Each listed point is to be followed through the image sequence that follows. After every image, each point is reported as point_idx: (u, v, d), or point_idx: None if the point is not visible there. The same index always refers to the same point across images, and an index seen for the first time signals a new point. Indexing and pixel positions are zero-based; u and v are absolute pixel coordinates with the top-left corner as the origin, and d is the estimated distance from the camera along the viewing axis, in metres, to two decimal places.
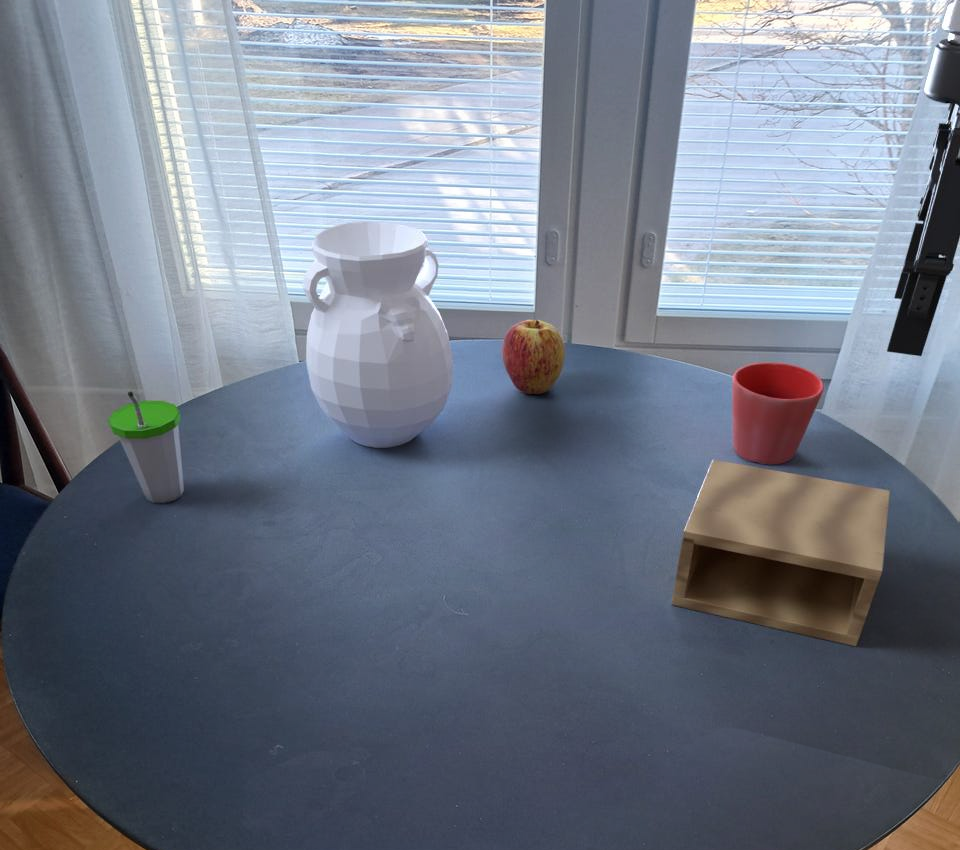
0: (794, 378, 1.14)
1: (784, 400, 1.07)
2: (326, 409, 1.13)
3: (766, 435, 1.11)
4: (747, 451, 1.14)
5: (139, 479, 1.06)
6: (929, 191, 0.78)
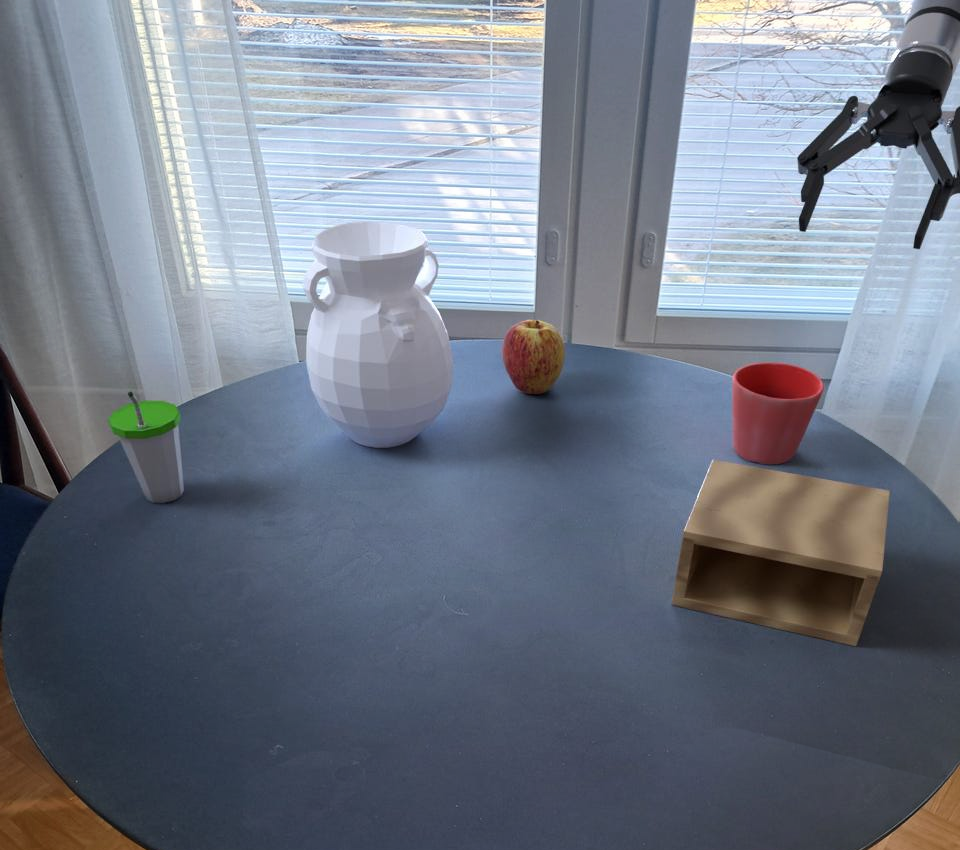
0: (794, 378, 1.14)
1: (784, 400, 1.07)
2: (326, 409, 1.13)
3: (766, 435, 1.11)
4: (747, 451, 1.14)
5: (139, 479, 1.06)
6: (928, 169, 1.08)
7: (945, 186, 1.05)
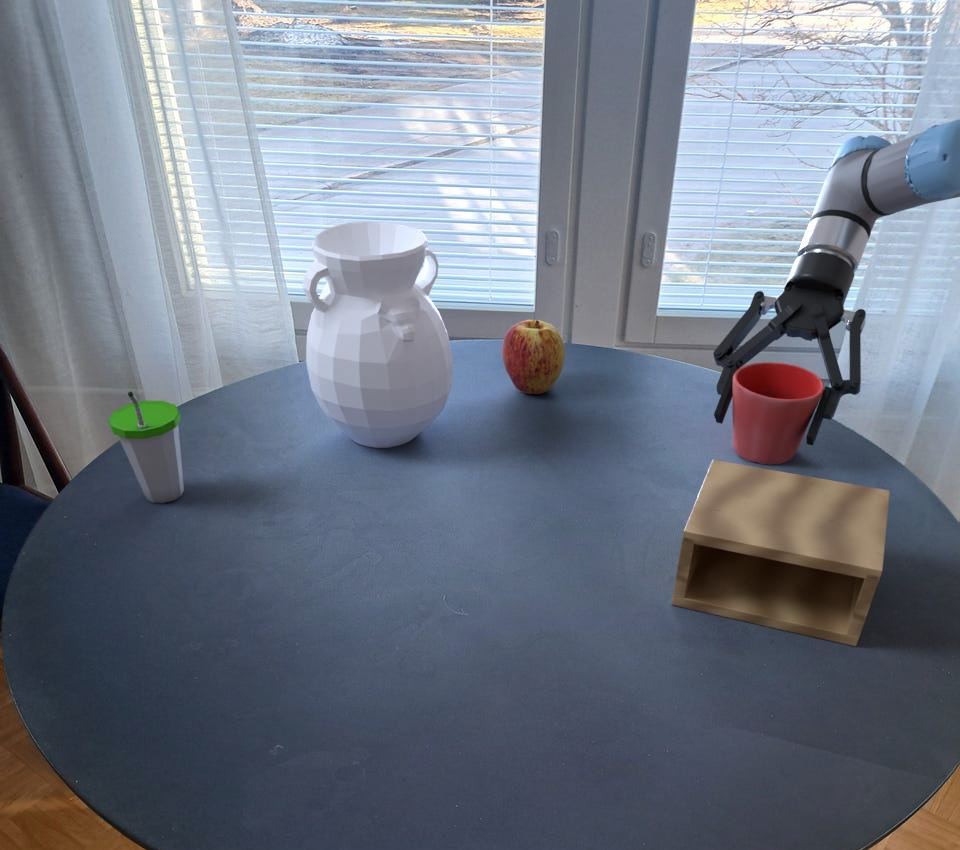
0: (794, 378, 1.14)
1: (784, 400, 1.06)
2: (326, 409, 1.13)
3: (766, 435, 1.11)
4: (747, 451, 1.14)
5: (139, 479, 1.06)
6: (825, 365, 1.12)
7: (834, 388, 1.09)
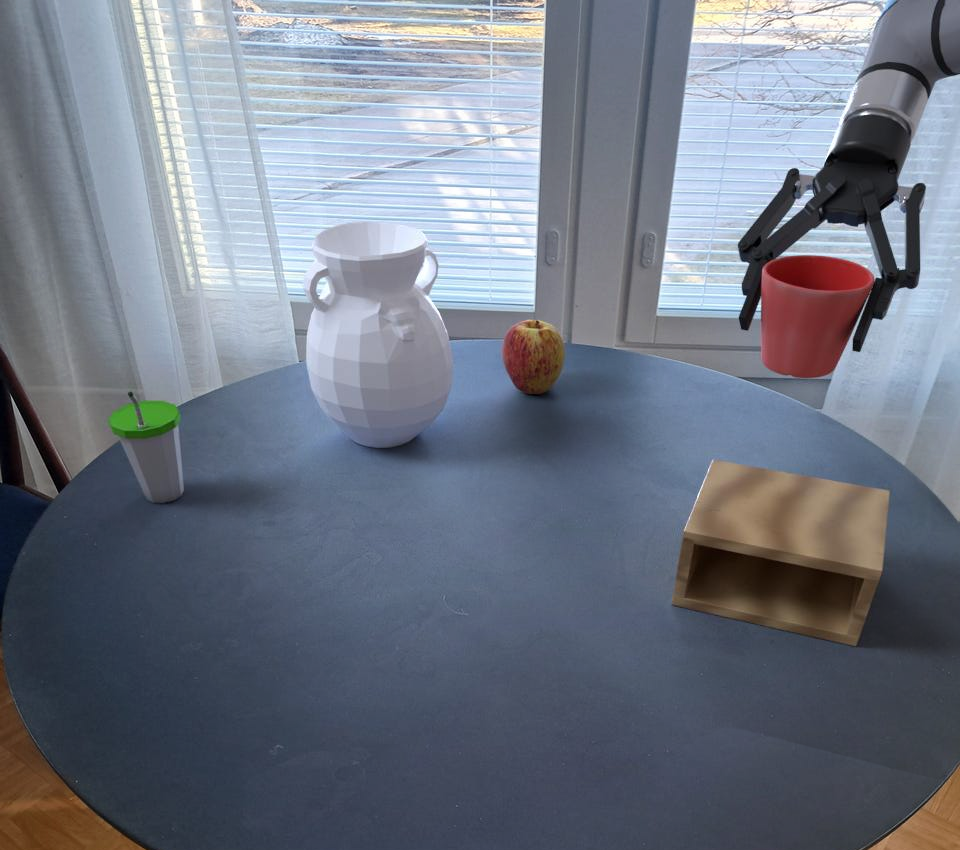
0: (836, 274, 0.94)
1: (827, 292, 0.87)
2: (326, 409, 1.13)
3: (803, 339, 0.91)
4: (779, 362, 0.94)
5: (139, 479, 1.06)
6: (874, 255, 0.92)
7: (887, 280, 0.89)
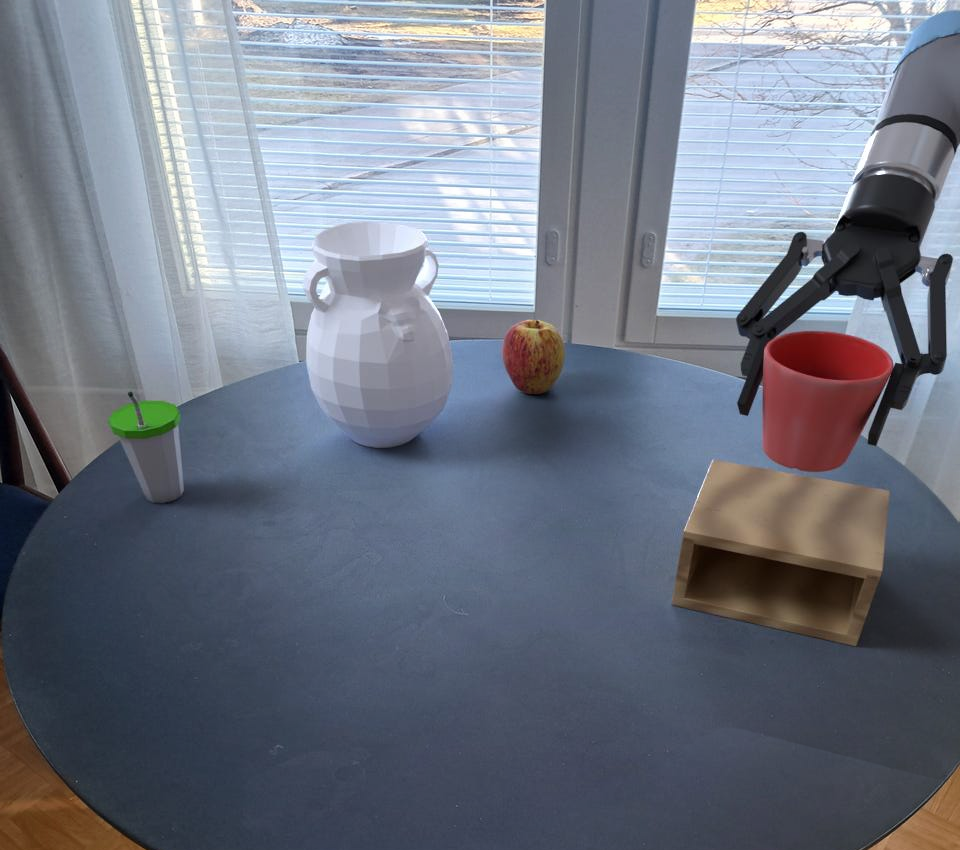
0: (848, 353, 0.82)
1: (839, 382, 0.75)
2: (326, 409, 1.13)
3: (811, 432, 0.79)
4: (783, 454, 0.82)
5: (139, 479, 1.06)
6: (893, 334, 0.80)
7: (909, 365, 0.77)
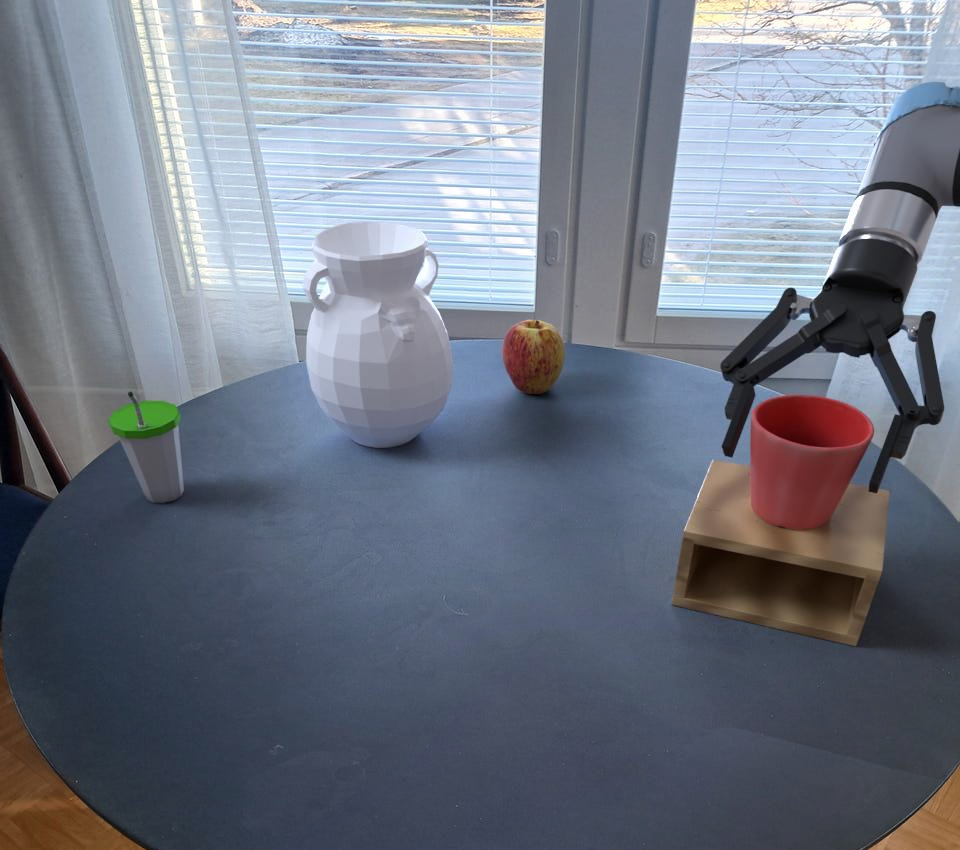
0: (832, 416, 0.86)
1: (822, 449, 0.79)
2: (326, 409, 1.13)
3: (796, 493, 0.83)
4: (770, 512, 0.86)
5: (139, 479, 1.06)
6: (887, 388, 0.83)
7: (908, 417, 0.80)
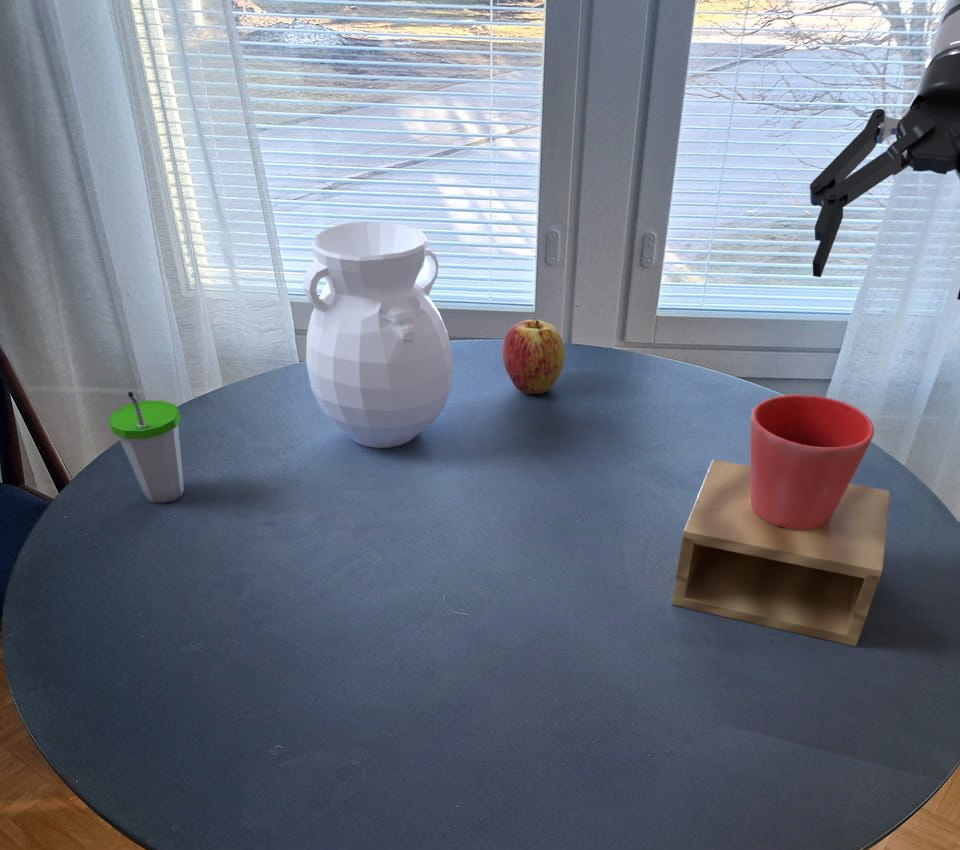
0: (832, 416, 0.86)
1: (822, 449, 0.79)
2: (326, 409, 1.13)
3: (796, 493, 0.83)
4: (770, 512, 0.86)
5: (139, 479, 1.06)
6: None
7: None
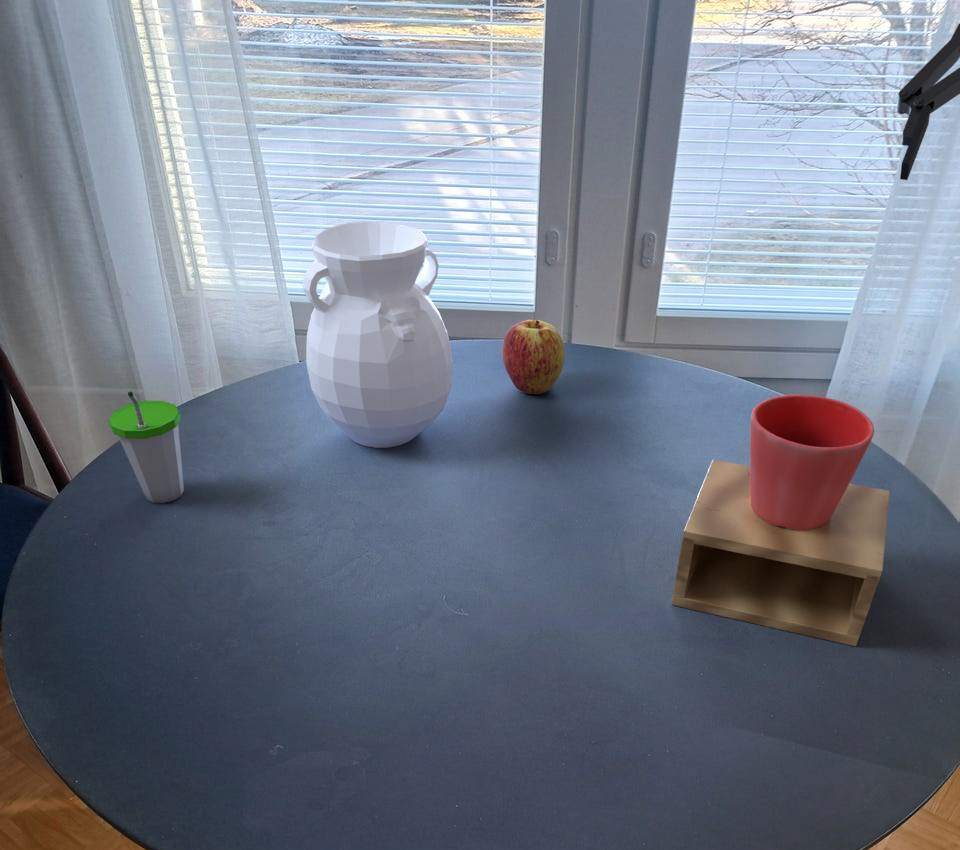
0: (832, 416, 0.86)
1: (822, 449, 0.79)
2: (326, 409, 1.13)
3: (796, 493, 0.83)
4: (770, 512, 0.86)
5: (139, 479, 1.06)
6: None
7: None
